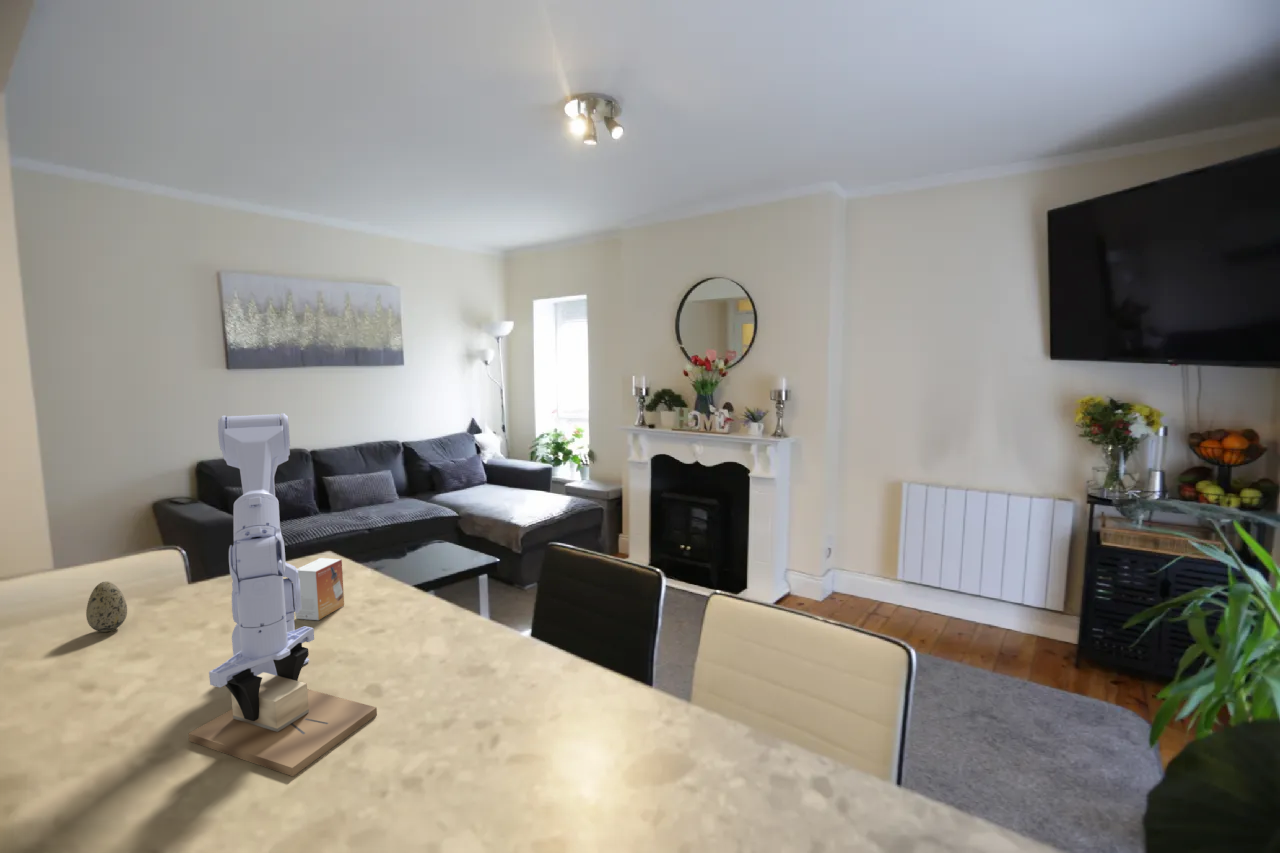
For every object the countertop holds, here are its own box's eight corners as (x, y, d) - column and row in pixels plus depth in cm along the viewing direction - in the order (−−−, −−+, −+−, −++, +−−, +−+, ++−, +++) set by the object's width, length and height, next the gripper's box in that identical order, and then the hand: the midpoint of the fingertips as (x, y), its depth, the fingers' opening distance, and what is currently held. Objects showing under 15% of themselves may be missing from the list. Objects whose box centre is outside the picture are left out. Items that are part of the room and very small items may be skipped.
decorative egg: (88, 630, 116) (83, 581, 115) (128, 621, 120) (123, 574, 119) (88, 640, 112) (82, 590, 111) (129, 631, 116) (124, 582, 115)
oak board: (189, 741, 82) (188, 733, 82) (281, 688, 95) (280, 681, 95) (293, 776, 75) (292, 767, 75) (376, 714, 88) (376, 707, 88)
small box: (318, 621, 120) (315, 571, 119) (294, 619, 121) (291, 569, 120) (345, 605, 128) (342, 558, 126) (323, 603, 129) (320, 557, 127)
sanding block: (233, 718, 85) (230, 689, 85) (265, 699, 90) (263, 672, 89) (277, 732, 82) (275, 701, 82) (308, 712, 87) (306, 683, 86)
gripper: (231, 646, 76) (240, 744, 78) (326, 603, 90) (331, 687, 91) (195, 637, 79) (204, 732, 80) (292, 597, 92) (298, 678, 94)
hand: (269, 707), depth 86 cm, fingers closed on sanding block, 5 cm apart
